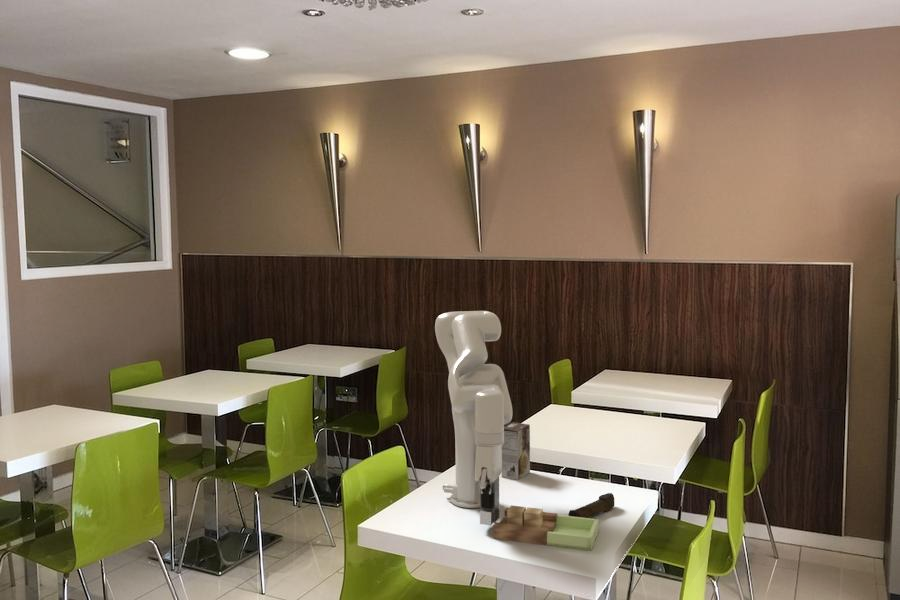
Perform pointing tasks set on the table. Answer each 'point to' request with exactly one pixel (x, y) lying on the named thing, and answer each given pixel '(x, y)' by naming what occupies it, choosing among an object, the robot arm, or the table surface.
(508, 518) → the light brown cube
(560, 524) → the tray
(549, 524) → the slot board
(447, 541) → the table surface
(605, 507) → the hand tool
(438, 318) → the robot arm
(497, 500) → the cube with crossbar
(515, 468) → the coffee box
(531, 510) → the light brown wooden block
